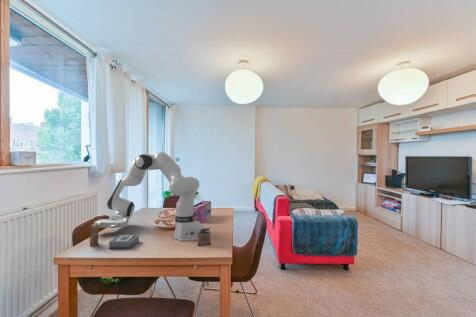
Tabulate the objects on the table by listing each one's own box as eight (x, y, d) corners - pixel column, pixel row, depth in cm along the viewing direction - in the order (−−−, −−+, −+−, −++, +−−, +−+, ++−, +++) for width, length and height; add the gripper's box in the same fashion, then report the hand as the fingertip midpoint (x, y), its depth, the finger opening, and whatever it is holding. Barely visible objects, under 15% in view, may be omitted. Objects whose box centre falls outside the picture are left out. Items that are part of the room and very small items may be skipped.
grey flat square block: (139, 241, 144) (139, 234, 144) (130, 249, 132) (130, 241, 132) (119, 241, 144) (119, 234, 144) (109, 248, 132) (109, 241, 132)
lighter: (198, 246, 137) (198, 229, 136) (196, 244, 140) (197, 228, 140) (211, 244, 140) (211, 228, 140) (209, 243, 143) (209, 226, 143)
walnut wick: (98, 243, 140) (98, 223, 140) (94, 246, 136) (94, 225, 136) (94, 243, 140) (94, 223, 140) (89, 246, 136) (90, 225, 136)
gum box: (200, 224, 183) (200, 206, 182) (191, 223, 184) (191, 206, 184) (211, 216, 206) (211, 201, 206) (202, 215, 208) (203, 200, 208)
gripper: (101, 216, 163) (88, 221, 149) (130, 216, 163) (120, 222, 149) (101, 225, 163) (88, 231, 149) (130, 225, 163) (120, 231, 149)
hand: (104, 226), depth 149 cm, fingers open, 8 cm apart
